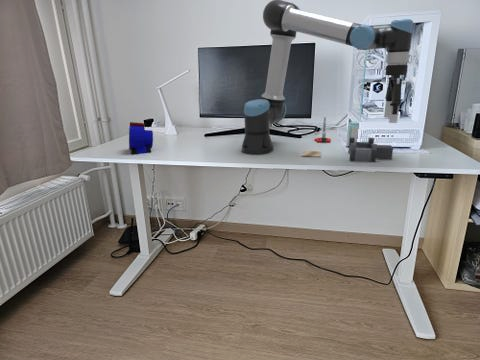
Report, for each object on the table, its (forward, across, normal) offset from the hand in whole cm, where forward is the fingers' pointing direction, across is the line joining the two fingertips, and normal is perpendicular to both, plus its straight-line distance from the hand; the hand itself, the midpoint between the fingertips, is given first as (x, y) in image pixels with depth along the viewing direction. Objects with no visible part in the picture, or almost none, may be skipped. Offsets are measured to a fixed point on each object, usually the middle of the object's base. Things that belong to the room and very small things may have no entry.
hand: (390, 119), depth 128 cm
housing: (+16, 0, +10) cm, 19 cm away
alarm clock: (+16, -5, +115) cm, 116 cm away
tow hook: (+16, +28, +27) cm, 42 cm away
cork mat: (+16, 0, +31) cm, 35 cm away
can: (+16, +17, +12) cm, 26 cm away
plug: (+16, 0, +2) cm, 16 cm away
